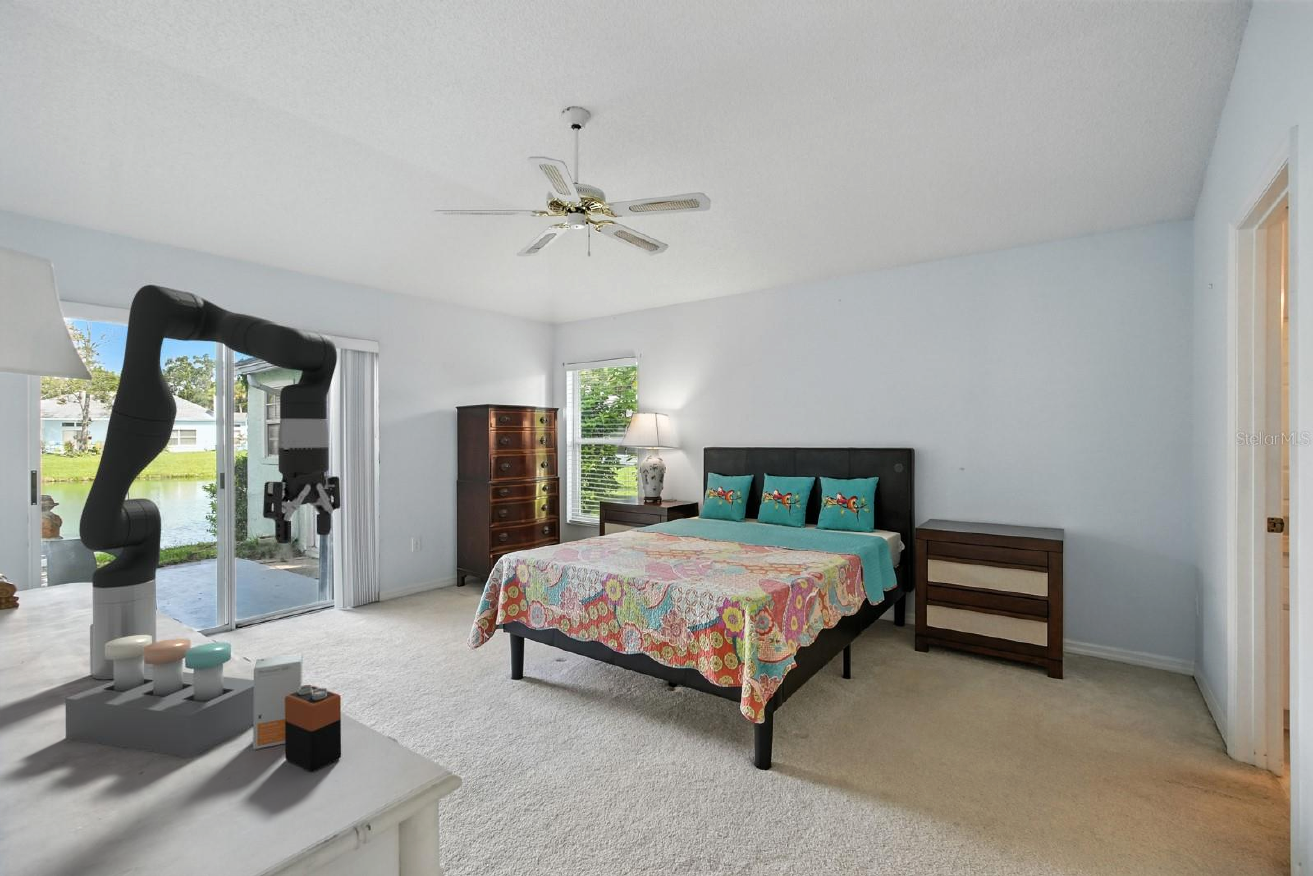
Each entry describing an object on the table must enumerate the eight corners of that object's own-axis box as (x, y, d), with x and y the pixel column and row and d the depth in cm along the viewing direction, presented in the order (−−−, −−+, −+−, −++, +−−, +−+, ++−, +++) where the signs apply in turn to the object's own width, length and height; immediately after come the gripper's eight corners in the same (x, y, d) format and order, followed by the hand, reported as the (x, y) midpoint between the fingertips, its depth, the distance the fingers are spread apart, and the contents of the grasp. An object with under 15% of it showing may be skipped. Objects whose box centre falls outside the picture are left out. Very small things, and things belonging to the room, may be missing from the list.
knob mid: (134, 698, 91) (134, 649, 91) (172, 683, 97) (172, 637, 97) (163, 702, 90) (162, 652, 90) (199, 687, 95) (199, 640, 95)
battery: (311, 774, 80) (311, 699, 80) (283, 760, 84) (283, 689, 84) (342, 759, 84) (342, 687, 84) (314, 746, 88) (314, 678, 88)
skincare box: (252, 751, 86) (252, 668, 86) (256, 738, 90) (256, 658, 90) (301, 741, 89) (301, 660, 89) (303, 729, 93) (302, 651, 93)
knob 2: (175, 703, 89) (175, 653, 89) (211, 688, 95) (211, 641, 95) (205, 707, 88) (205, 656, 88) (240, 692, 94) (239, 644, 93)
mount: (65, 738, 90) (65, 698, 90) (150, 703, 102) (149, 668, 102) (190, 757, 85) (190, 715, 85) (264, 718, 96) (264, 681, 96)
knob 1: (95, 693, 93) (95, 645, 93) (134, 679, 99) (134, 633, 99) (123, 697, 92) (122, 648, 92) (161, 682, 97) (160, 636, 97)
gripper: (317, 444, 112) (317, 531, 112) (249, 446, 98) (250, 545, 98) (352, 444, 110) (352, 533, 110) (288, 446, 96) (288, 547, 96)
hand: (304, 538), depth 104 cm, fingers open, 8 cm apart
